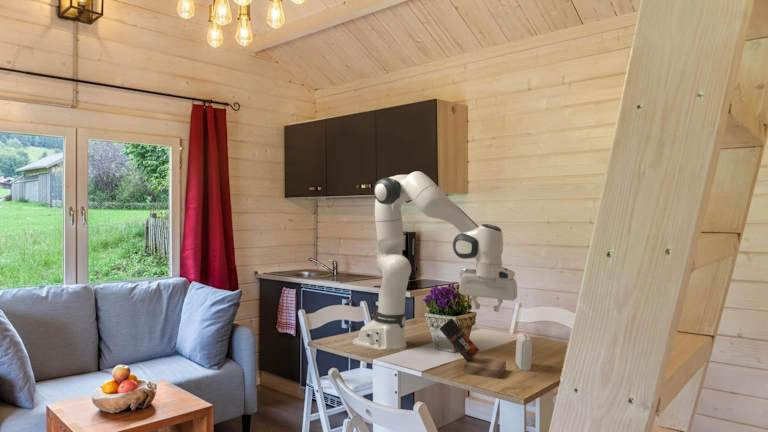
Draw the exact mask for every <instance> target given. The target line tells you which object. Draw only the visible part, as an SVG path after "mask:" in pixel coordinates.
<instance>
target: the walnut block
mask: <svg viewBox="0 0 768 432" xmlns="http://www.w3.org/2000/svg"><path fill="white" fill-rule="evenodd" d="M506 366H507V361H506V360H500V359H496V358H495V359H494V358H489V357H483V356H477V355H475V356H474V357H473V358H471V359H470V360H469V361H468V362H467V361H466V362H465V364H464V367H463V368H464V369H463V372H464V373H463V375H471V376H480V377H484V378H490V379H491V378H492V379H500V378H501V376H502V375H503V374H504V373H505V372H506V368H507V367H506Z"/></svg>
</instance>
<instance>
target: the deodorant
mask: <svg viewBox="0 0 768 432" xmlns="http://www.w3.org/2000/svg"><path fill="white" fill-rule="evenodd" d="M439 330H440V331H441V333H442V334H443V335H444V336H445V337H446V339H447V340H448V341H449V342H450V343H451V344H452V346H453V347H454V348H455V349H456V351H458V353H459V354H460V355H461V357H463V359H465V362H466V363H467V362H468V361H469V360H470V359H471V358H473V357H474V356H477V354H478V353H479V352H480V350H479V348H478V347H477V346H476V345H475V343H474V342H473V341H472V340H471V339H470V338H469V336H468V335H467V334H466V333H465V332H464V331H463V330H462V328H461V327H460V326H459V325H458V324H457V322H456V321H455V320H454V319H453V318H452V317H451V318H450V319H449V320H447V322H445V323H444V324H443V325H442V326H441V327H439Z"/></svg>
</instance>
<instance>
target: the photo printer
mask: <svg viewBox="0 0 768 432" xmlns="http://www.w3.org/2000/svg"><path fill="white" fill-rule="evenodd" d="M515 344H516V347H515V360H514V361H515V365H516V366H517V367H518V369H519V370H521V371H524V372H529V371H531V370H532V369H531V368H532V354H533V353H532V352H533V341H532V338H531V337H530V336H529V334H528V333H526V332H520V333H518V334H517V336H516V343H515Z"/></svg>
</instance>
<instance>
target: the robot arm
mask: <svg viewBox="0 0 768 432" xmlns="http://www.w3.org/2000/svg"><path fill="white" fill-rule="evenodd" d="M373 193H374V198H375V201H374V220H375V221H374V222H375V232H376V266H377V269H378V272H379V273H380V274H381V275H382V280H381V284H380V289H379V292H378V299H377V300H378V303H377V310H376V311H374V312H373V313H372V315H371V316H372V317H373V319H372V320H370V321H369V322H367V323H366V324H365V325H363V326H362V327H361V328H360V330H359V334H358V337H355V338H354V339H353V341H352V344H353V345H355V346H360V347H364V348H370V349H375V350H379V351H380V350H381V351H385V350H400V349H401V350H402V349H405V348H407V342H406V341H407V340H406V336H405V334H406V333H405V326H406V312H405V306H406V294H407V293H406V292H407V288H408V284H409V281H410V280H409V279H410V276H411V273H412V266H411V263H410V261H409V259H408V258H406V257H405V256H404V255H403V244H404V243H403V242H404V238H405V235H404V227H403V225H404V224H403V217H402V205H403V204H404V203H406V204H407V203H411V202H413V204H414V206H415V207H416V208H417V209H418V210H419V212H421V213H422V214H423V215H424V216H426V217H429V218H432V219H436V220H441V221H444V222H447V223H450V224H451V225H453V226H454V227H455V228H456V229H457V230H458V231H459V232H460V233H458V234H457V235H455V237H454V238H453V242H452V249H453V252H454V254H455V255H456V256H457V258H460V259H463V260H470V259H471V260H472V259H476V264H475V265H476V266H475V267H476V268H475V269H473V268H472V269H470V268H464V269H461V271H460V272H459V279H460V282H459V286H458V288H459V289H458V293H459V294H460V295H463V296H471V300H472V302H473V304H474V309H475V310H480V309H481V303H479V302H478V301H477V299H478V298H487V299H488V298H489V299H494V300H497V303H498V304H497V305H494V306H493V308H494V309H493V312H498V313H499V312H500V306H501V305H502V303H503V302H504V300H506V301H511V302H512V301H515V300H516V299H517V298H518V284H517V281H516V279H515V276H516V272H515V271H513V270H512V269H509V268H507V267H504V266H503V260H502V254H503V251H504V235H503V231H502V229H501V228H500V227H499V226H497V225H493V224H488V223H487V224H486V223H484V224H480V225H478V224H476V222H475V221H474V220H473V219H471V218H472V217H470V216H468V214H467V213H466V212H465V211H463V210H462V209H461V208H460V207H459V206H458V205H457V204H456V203H454V201H452V200H451V199H450V198H449V197H448V196H447V195H446V193H444V192H443V190H442V189H441V188H440V187H439V186H438V185H437V184H436V183H435V182H434V181H433V179H431V178H430V177H429V176H428V175H427V174H425V173H424V172H422V171H418V170H417V171H413V172H411V173H408V174H396V175H393V176H389V177H383V178H380V179H379V180H377V181H376V182H375V184H374V188H373Z"/></svg>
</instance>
